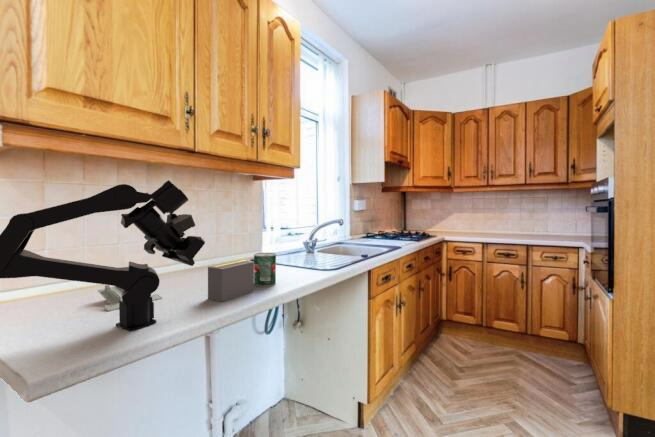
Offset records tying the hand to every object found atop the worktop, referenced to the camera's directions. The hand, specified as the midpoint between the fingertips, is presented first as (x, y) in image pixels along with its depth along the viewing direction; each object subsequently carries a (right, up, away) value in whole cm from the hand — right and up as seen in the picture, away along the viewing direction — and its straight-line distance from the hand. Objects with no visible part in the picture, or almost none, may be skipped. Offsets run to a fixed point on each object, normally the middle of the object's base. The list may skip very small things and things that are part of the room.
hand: (192, 264), depth 91 cm
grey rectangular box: (+6, -12, +15) cm, 20 cm away
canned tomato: (+14, -11, +29) cm, 34 cm away
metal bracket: (-23, -12, +7) cm, 27 cm away
